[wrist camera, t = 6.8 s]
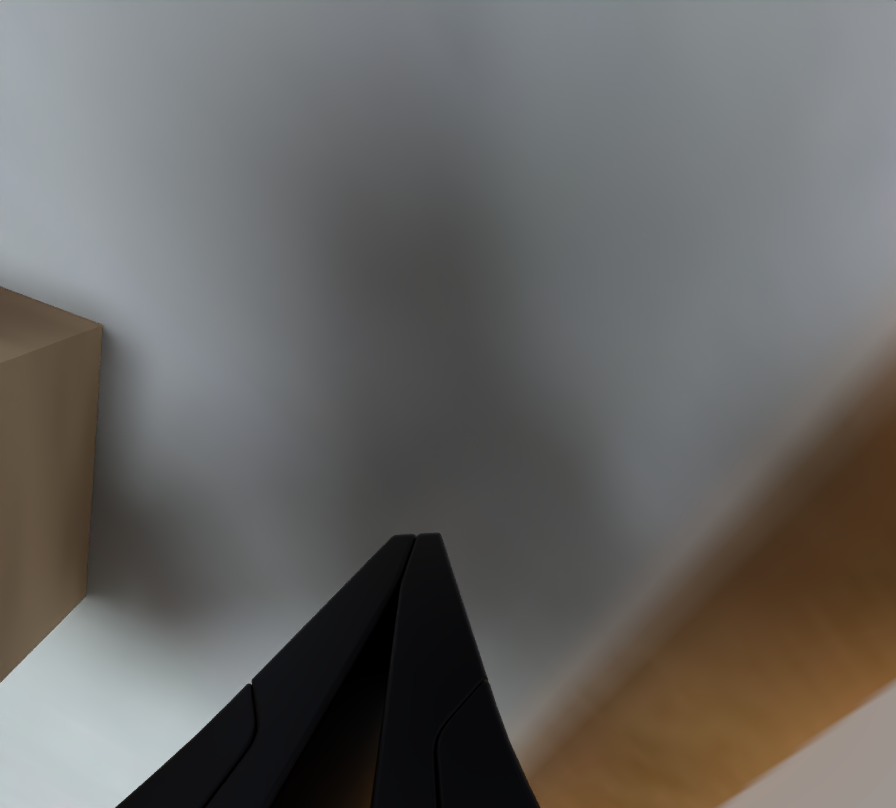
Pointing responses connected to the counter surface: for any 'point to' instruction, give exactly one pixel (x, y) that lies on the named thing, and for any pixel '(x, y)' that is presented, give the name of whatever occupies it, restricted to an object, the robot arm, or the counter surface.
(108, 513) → the counter surface
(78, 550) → the oak block
